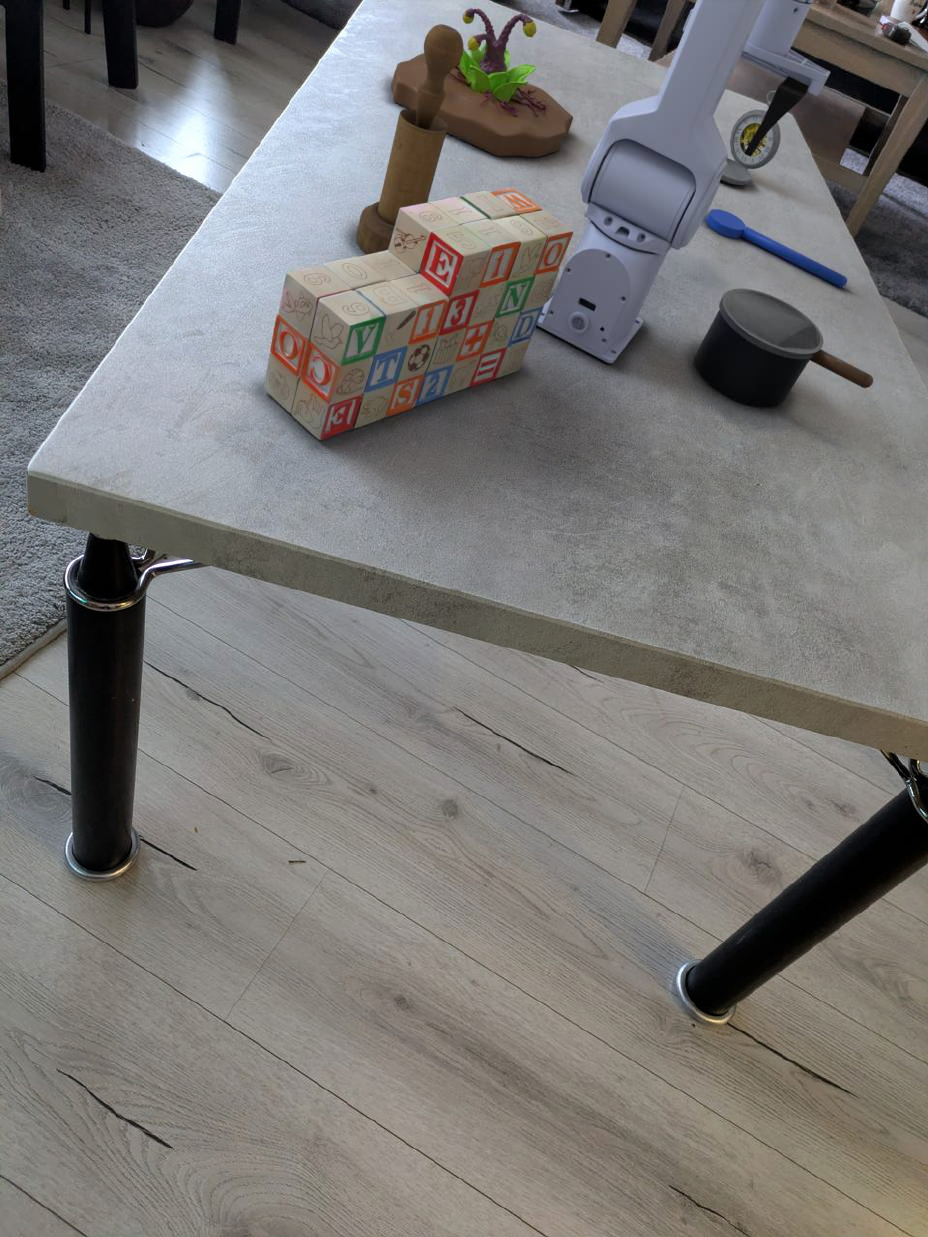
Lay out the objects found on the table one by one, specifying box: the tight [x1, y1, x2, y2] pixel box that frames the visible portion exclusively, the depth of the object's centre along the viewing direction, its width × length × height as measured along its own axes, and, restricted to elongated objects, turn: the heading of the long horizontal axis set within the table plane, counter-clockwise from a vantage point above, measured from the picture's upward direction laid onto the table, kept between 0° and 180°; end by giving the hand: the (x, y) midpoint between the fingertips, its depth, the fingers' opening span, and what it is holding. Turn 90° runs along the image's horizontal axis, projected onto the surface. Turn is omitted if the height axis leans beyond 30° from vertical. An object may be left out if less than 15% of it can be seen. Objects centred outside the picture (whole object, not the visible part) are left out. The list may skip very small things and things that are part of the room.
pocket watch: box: [720, 90, 781, 186], centre depth 121 cm, size 8×8×10 cm
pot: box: [693, 288, 874, 409], centre depth 87 cm, size 10×15×6 cm, turn 64°
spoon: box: [705, 208, 848, 288], centre depth 111 cm, size 17×4×1 cm, turn 64°
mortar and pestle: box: [355, 23, 465, 255], centre depth 80 cm, size 7×6×18 cm
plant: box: [390, 8, 574, 158], centre depth 110 cm, size 20×20×11 cm
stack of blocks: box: [263, 187, 574, 441], centre depth 69 cm, size 21×6×12 cm, turn 136°
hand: (715, 136), depth 101 cm, fingers open, 7 cm apart
